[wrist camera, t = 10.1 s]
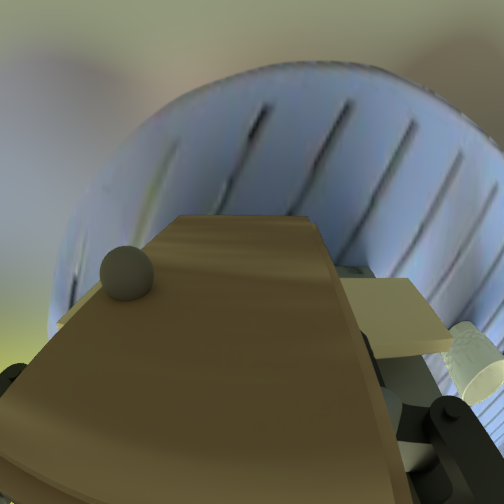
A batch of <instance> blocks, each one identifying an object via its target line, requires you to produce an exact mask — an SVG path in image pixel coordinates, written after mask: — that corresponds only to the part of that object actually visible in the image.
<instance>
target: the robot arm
mask: <svg viewBox="0 0 504 504" xmlns="http://www.w3.org/2000/svg"><path fill="white" fill-rule="evenodd" d="M360 331H361V330H360ZM361 334H362V337H363V340H364V342H365V345H366V348H367V350H368V353H369V356H370V359H371V362H372V364H373V367H374V370H375V373H376V376H377V379H378V382H379V385H380V388H381V391H382V394H383V397H384V400H385V403H386V406H387V409H388V413H389V416H390V419H391V422H392V426H393V429H394V432H395V436H396V439H397V443H398V446H399V450H400V453H401V457H402V461H403V464H404V468H405V472H406V476H407V480H408V484H409V488H410V492H411V497H412V501H413V504H504V458H503V457H502V455H501V453H500V452H499V450H498V449H497V447H496V446H495V444H494V442H493V441H492V439H491V438H490V436H489V435H488V433H487V432H486V430H485V429H484V427H483V426H482V424H481V423H480V421H479V420H478V418H477V417H476V415H475V414H474V412H473V411H472V410H471V408H470V407H469V405H468V404H467V403H466V402H465V401H463V400H462V399H460V398H458V397H455V396H448V395H447V396H441V397H439V398H437V399H435V400H434V401H433V403H432V404H431V406H430V407H422V406H413V405H407V404H404V403H402V402H401V400H400V398H399V397H398V395H397V394H396V393H394V392H393V391H391V390H390V389H387V388H386V386H385V384H384V381H383V378H382V375H381V372H380V370H379V367H378V364H377V361H376V359H375V357H374V353H373V351H372V348H371V346H370V343H369V340H368V338H367V336H366V335H365V334H364V333H363V332H362V331H361ZM26 367H27V364H24V363H17V364H13V365H11V366H9V367H7V368H6V369H5V370H4V371H3V372H2V373H1V374H0V398H1V397H2V395H3V394H4V393H5V392H6V390H7V389H8V388H9V387H10V385H11V384H12V383H13V382H14V381H15V379H16V378H17V377H18V376H19V375H20V374H21V372H22V371H23V370H24V369H25V368H26ZM10 503H11V501H10V500H9V499H8V498H6V497H5V496H4V495H3V494H1V493H0V504H10Z"/></svg>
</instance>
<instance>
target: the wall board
mask: <svg viewBox="0 0 504 504" xmlns="http://www.w3.org/2000/svg"><path fill="white" fill-rule="evenodd" d="M335 269H336V271H337V274H338V276H339V278H340V281H341V283H342V286H343V288H344V291H345V293H346V296H347V298H348V301H349V303H350V306H351V308H352V311H353V313H354V316H355V318H356V321H357V324H358V326H359V329H360V330H361V331H362V332H363V333H364V334H365V335H366V336H367V338H368V340H369V343H370V346H371V348H372V351H373V353H374V357H375V359H376V361H377V364H378V367H379V370H380V372H381V375H382V378H383V381H384V384H385V386H386V388H387V389H390V390H391V391H393V392H394V393H396V394H397V395H398V397H399V398H400V400H401V402H402V403H404V404H407V405H413V406H422V407H430V406H431V404H432V403H433V401H434V400H435V399H437V398H439V397H441V396H442V394H441V392H440V390H439V388H438V386H437V384H436V382H435V380H434V378H433V376H432V374H431V372H430V370H429V368H428V366H427V365H426V363H425V361H424V359H423V357H422V355H424V354H432V353H440V352H448V351H449V349H450V346H451V344H452V341H453V339H454V338H453V336H452V335H451V333H450V332H449V331H448V329H447V328H446V327H445V325H444V324H443V322H442V321H441V320H440V318H439V317H438V316H437V314H436V313H435V312H434V310H433V309H432V308H431V306H430V305H429V304H428V302H427V301H426V300H425V299H424V297H423V296H422V295H421V294H420V292H419V291H418V290H417V288H416V287H415V286H414V285H413V283H412V282H411V281H410V280H409V279H408V278H376V277H375V276H374V274H373V273H372V271H371V269H370V268H369V267H348V266H335ZM101 287H102V284H101V281H99V282H98V283H97V284H95V285H94V286H93V287H92V288H91V289H90V290H89V291H88V292H87V293H86V294H85V295H84V296H83V297H82V298H81V299H80V300H79V301H78V302H77V303H76V304H75V305H74V306H73V307H72V308H71V309H70V310H69V311H68V312H67V313H66V314H65V315H64V316H63V317H62V318H61V319H60V320H59V321H58V322H57V323H56V324H57V326H58V329H59V330H60V329H61V328H62V327H63V326H64V325H65V324H66V323H67V321H68V320H69V319H70V318H71V317H72V316H73V315H74V314H75V313H76V312H77V311H78V310H79V309H80V308H81V307H82V306H83V305H84V304H85V303H86V302H87V301H88V300H89V299H90V298H91V297H92V296H93V295H94V294H95V293H96V292H97V291H98V290H99V289H100V288H101Z"/></svg>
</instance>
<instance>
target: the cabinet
mask: <svg viewBox="0 0 504 504" xmlns="http://www.w3.org/2000/svg"><path fill="white" fill-rule="evenodd" d="M100 281H101V284H102V287H101V288H100V289H99V290H98V291H97V292H96V293H95V294H94V295H93V296H92V297H91V298H90V299H89V300H88V301H87V302H86V303H85V304H84V305H83V306H82V307H81V308H80V309H79V310H78V311H77V312H76V313H75V314H74V315H73V316H72V317H71V318H70V319H69V320H68V321H67V323H66V324H65V325H64V326H63V327H62V328H61V329H60V330H59V331H58V332H57V333H56V334H55V335H54V336H53V337H52V339H51V340H50V341H49V342H48V343H47V344H46V345H45V346H44V347H43V348H42V350H41V351H40V352H39V353H38V354H37V355H36V356H35V357H34V359H33V360H32V361H31V362H30V363H29V364H28V365H27V367H26V368H25V369H24V370H23V371H22V372H21V374H20V375H19V376H18V377H17V378H16V379H15V381H14V382H13V383H12V384H11V385H10V387H9V388H8V389H7V390H6V392H5V393H4V394H3V395H2V397H1V398H0V493H1V494H3V495H4V496H5V497H6V498H8V499H9V500H10V501H11V502H13V503H14V504H413V501H412V497H411V492H410V488H409V484H408V480H407V476H406V472H405V468H404V464H403V461H402V457H401V453H400V450H399V446H398V443H397V439H396V436H395V432H394V429H393V426H392V422H391V419H390V416H389V413H388V409H387V406H386V403H385V400H384V397H383V394H382V391H381V388H380V385H379V382H378V379H377V376H376V373H375V370H374V367H373V364H372V362H371V359H370V356H369V353H368V350H367V348H366V345H365V342H364V340H363V337H362V334H361V331H360V329H359V326H358V324H357V321H356V318H355V316H354V313H353V311H352V308H351V306H350V303H349V301H348V298H347V296H346V293H345V291H344V288H343V286H342V283H341V281H340V278H339V276H338V274H337V271H336V269H335V266H334V264H333V262H332V259H331V257H330V255H329V252H328V250H327V248H326V246H325V243H324V241H323V239H322V237H321V234H320V232H319V230H318V228H317V225H316V223H310V221H309V219H308V216H263V215H180V216H179V217H177V218H176V219H175V220H174V221H173V222H172V223H170V224H169V225H168V226H167V227H166V228H165V229H164V230H162V231H161V232H160V233H159V234H158V235H157V236H156V237H155V238H153V239H152V240H151V241H150V242H149V243H148V244H147V245H146V246H145V247H143V248H142V249H141V250H140V249H138V248H135V247H132V246H121V247H117V248H115V249H113V250H112V251H110V252H109V253H108V254H107V255H106V256H105V258H104V259H103V261H102V264H101V267H100Z"/></svg>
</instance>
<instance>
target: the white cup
mask: <svg viewBox="0 0 504 504" xmlns="http://www.w3.org/2000/svg"><path fill="white" fill-rule="evenodd" d="M448 331H449V332H450V333H451V335H452V336H453V338H454V339H453V341H452V344H451V346H450V349H449V351H448V352H440V353H441V356H442V358H443V360H444V362H445V365H446V367H447V369H448V372H449V374H450V376H451V378H452V380H453V382H454V384H455V386H456V388H457V391H458V393H459V395H460V397H461V399H462V400H463V401H465V402H466V403H467V404H468V405H475V404H478V403H480V402H482V401H484V400H486V399H487V398H489V397H490V396H491V395H492V394H494V393H495V392H496V391H497V390H498V389H499V388H500V386H501V385H502V384H503V383H504V355H503V354H502V353H501V352H500V351H499V350H498V348H497V347H496V346H495V345H494V344H493V343H492V342H491V341H490V339H489V338H488V337H486V336H485V334H484V333H483V332H481V331H480V330H479V329H478V328H477V327H476V326H475V325H474V324H473V323H471V322H470V321H462V322H460V323H458V324H456V325H454V326H453V327H452V328H451V329H449V330H448Z"/></svg>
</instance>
